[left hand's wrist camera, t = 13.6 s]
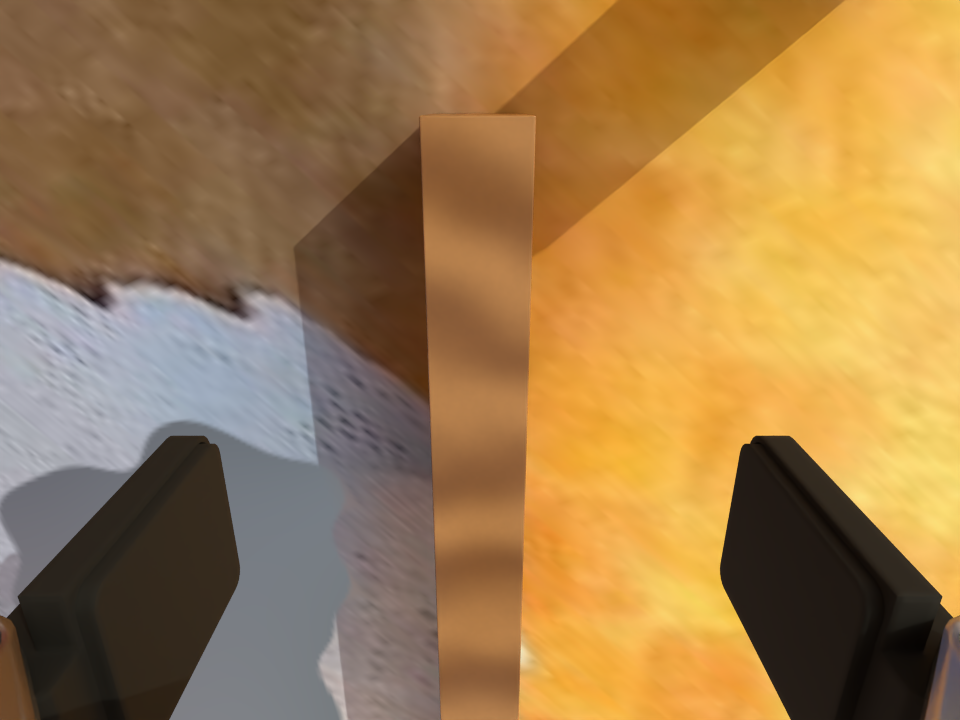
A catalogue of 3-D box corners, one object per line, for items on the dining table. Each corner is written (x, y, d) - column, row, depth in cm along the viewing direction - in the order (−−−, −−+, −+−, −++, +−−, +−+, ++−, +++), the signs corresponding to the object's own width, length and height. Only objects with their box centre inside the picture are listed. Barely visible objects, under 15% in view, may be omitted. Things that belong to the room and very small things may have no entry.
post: (432, 113, 33) (419, 115, 26) (523, 113, 33) (536, 115, 26) (453, 861, 57) (449, 971, 50) (507, 861, 57) (511, 971, 50)
